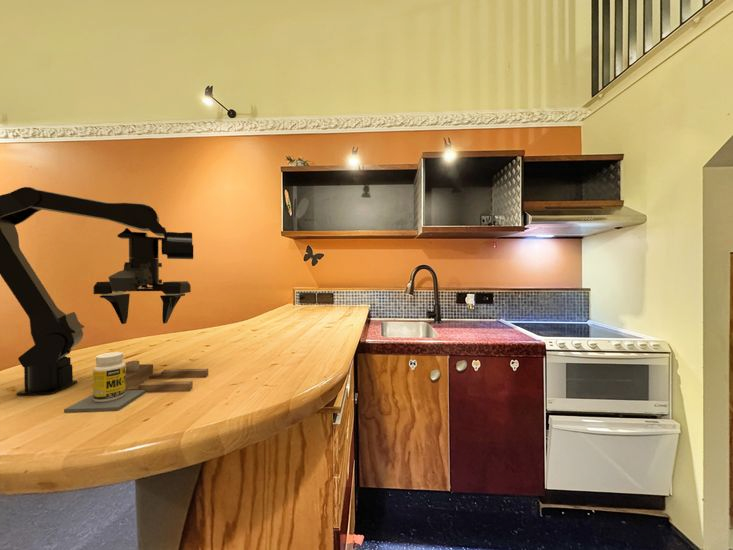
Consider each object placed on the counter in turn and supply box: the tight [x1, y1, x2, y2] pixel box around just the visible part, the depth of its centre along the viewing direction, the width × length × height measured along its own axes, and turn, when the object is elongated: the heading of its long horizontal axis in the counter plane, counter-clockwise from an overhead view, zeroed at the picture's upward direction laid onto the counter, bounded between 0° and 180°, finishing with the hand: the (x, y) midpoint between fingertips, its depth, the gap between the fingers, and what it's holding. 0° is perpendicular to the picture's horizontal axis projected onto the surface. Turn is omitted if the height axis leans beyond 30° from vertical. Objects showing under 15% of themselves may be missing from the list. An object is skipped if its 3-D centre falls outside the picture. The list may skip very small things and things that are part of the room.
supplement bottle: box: [92, 351, 126, 402], centre depth 58 cm, size 5×5×8 cm
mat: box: [63, 390, 146, 414], centre depth 58 cm, size 9×9×1 cm
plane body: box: [125, 360, 209, 394], centre depth 66 cm, size 16×10×5 cm, turn 96°
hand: (144, 323), depth 71 cm, fingers open, 9 cm apart
